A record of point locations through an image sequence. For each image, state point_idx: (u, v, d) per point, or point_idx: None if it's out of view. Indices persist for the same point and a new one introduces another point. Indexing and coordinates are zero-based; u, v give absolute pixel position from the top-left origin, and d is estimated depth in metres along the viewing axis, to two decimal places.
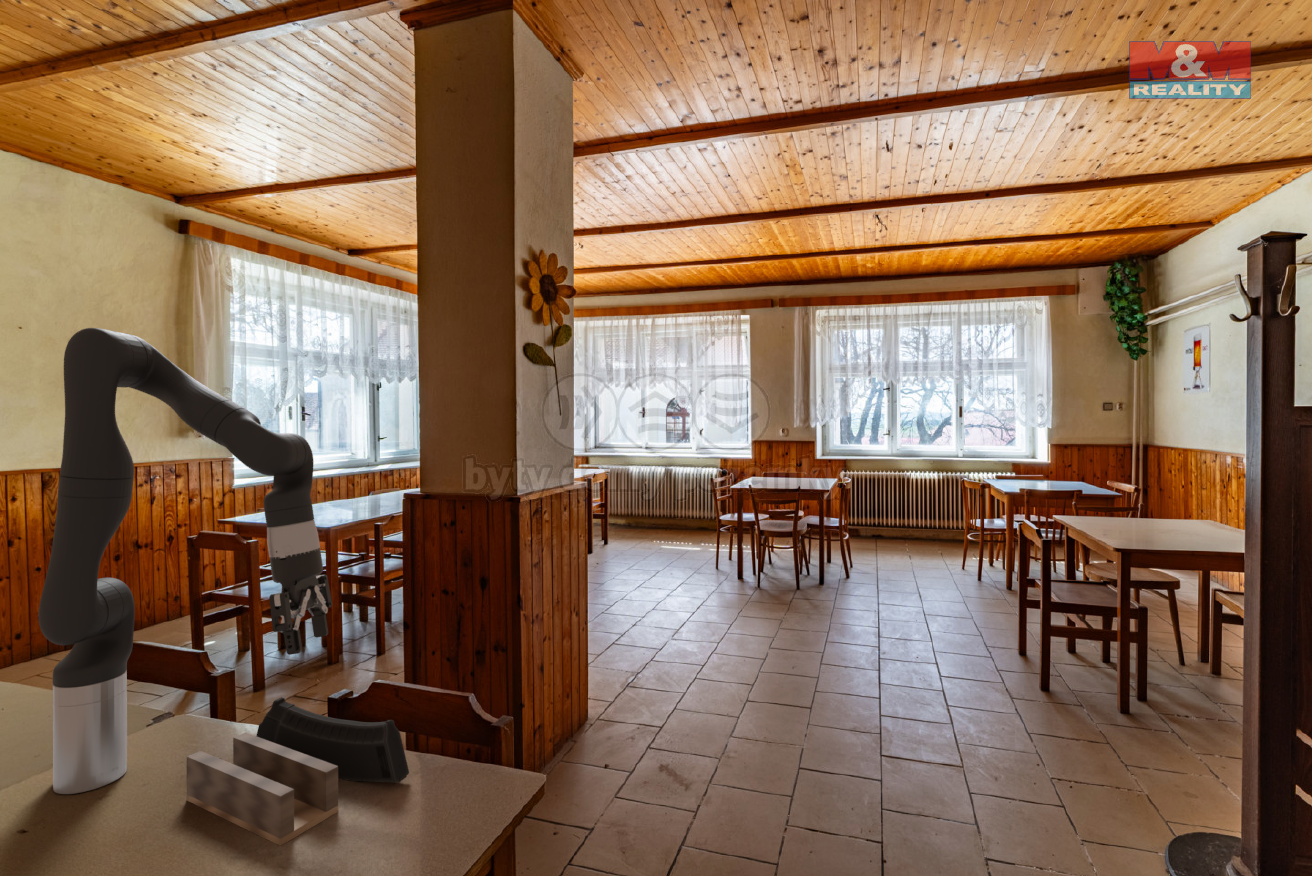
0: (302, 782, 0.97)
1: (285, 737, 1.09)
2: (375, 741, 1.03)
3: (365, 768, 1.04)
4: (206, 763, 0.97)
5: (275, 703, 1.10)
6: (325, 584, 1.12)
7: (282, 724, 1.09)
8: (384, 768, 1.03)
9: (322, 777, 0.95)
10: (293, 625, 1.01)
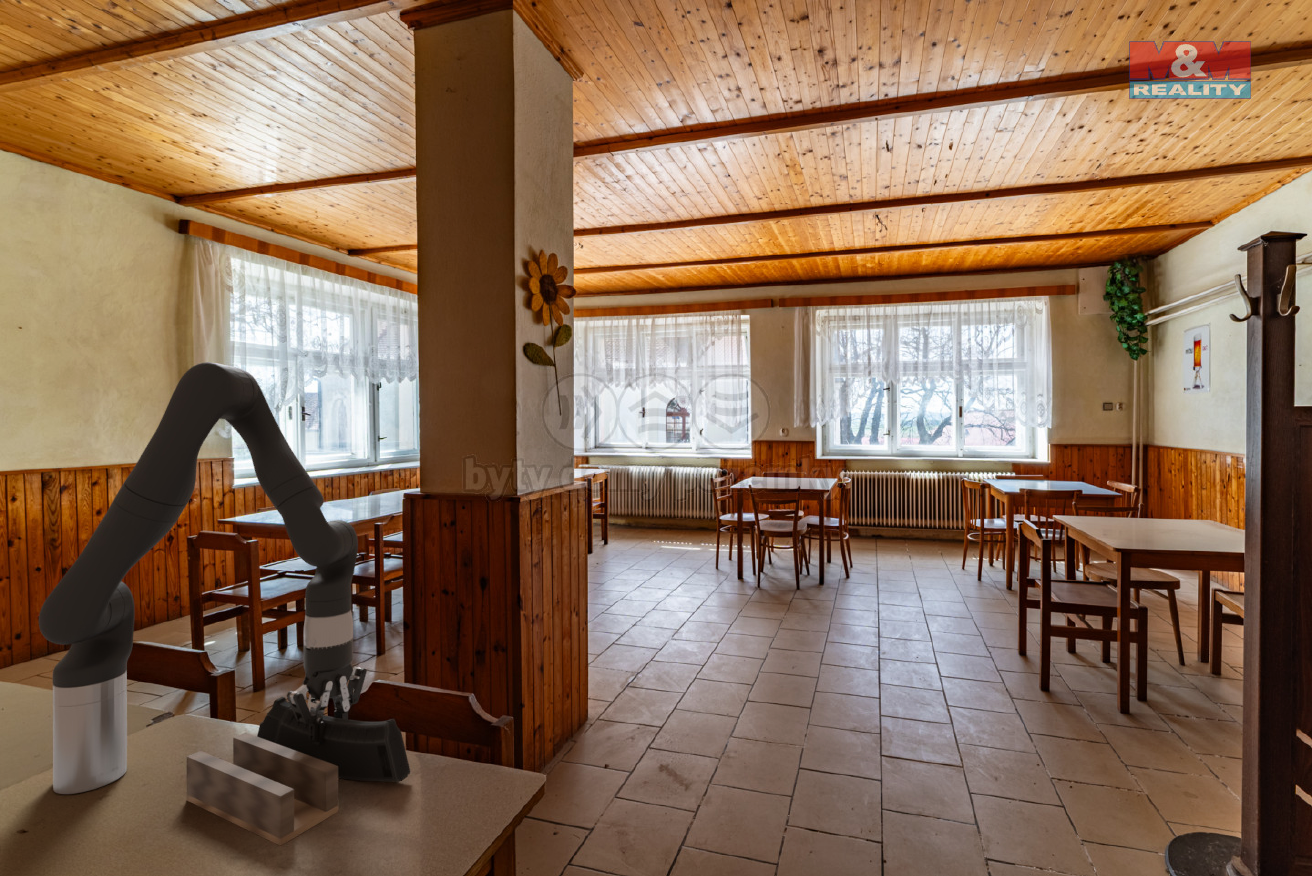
0: (302, 782, 0.97)
1: (286, 736, 1.09)
2: (376, 740, 1.03)
3: (366, 768, 1.04)
4: (206, 763, 0.97)
5: (276, 702, 1.10)
6: (359, 678, 1.12)
7: (283, 724, 1.09)
8: (385, 768, 1.03)
9: (322, 777, 0.95)
10: (315, 718, 1.05)
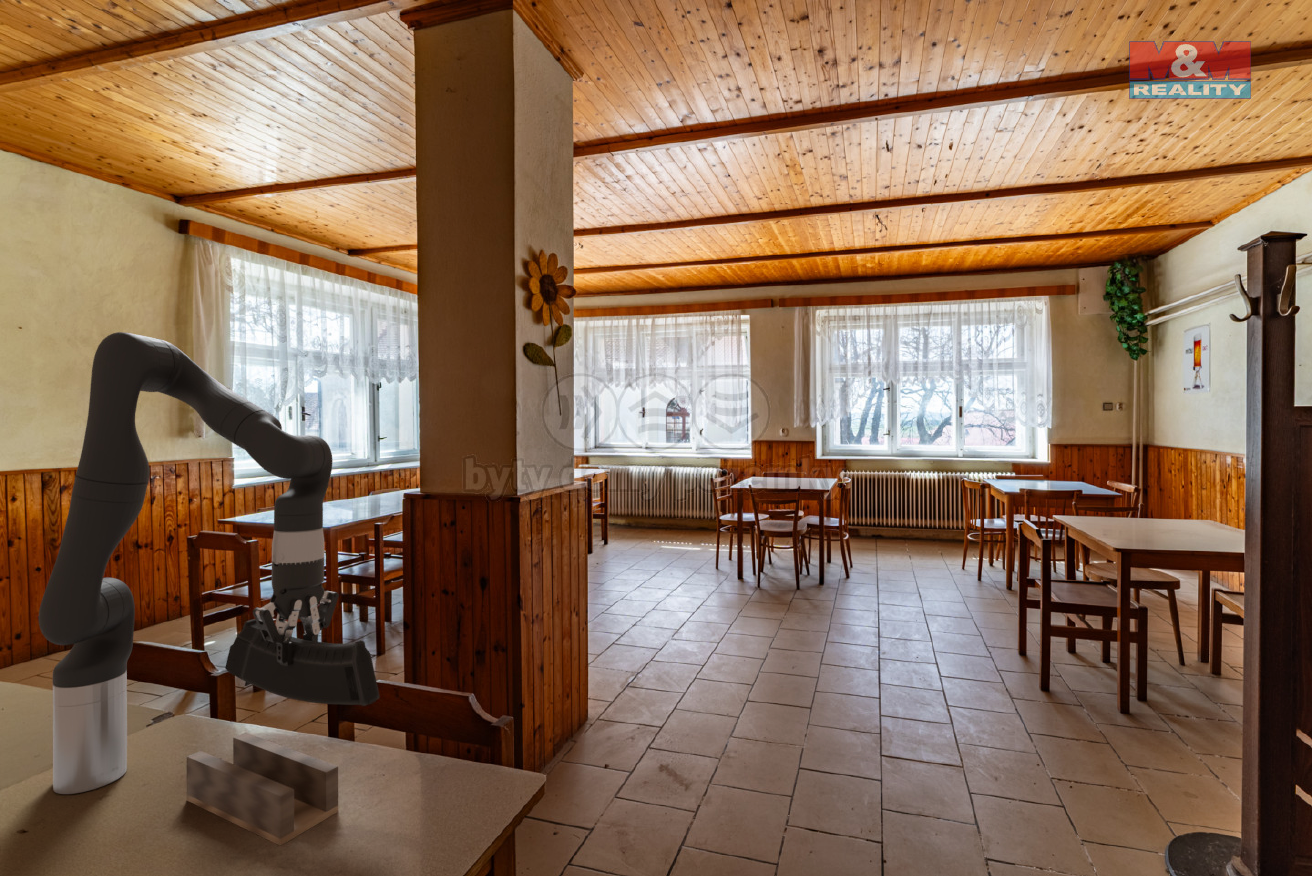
0: (302, 782, 0.97)
1: (255, 659, 1.04)
2: (343, 661, 0.98)
3: (333, 690, 0.99)
4: (206, 763, 0.97)
5: (246, 624, 1.06)
6: (331, 601, 1.07)
7: (252, 645, 1.05)
8: (352, 690, 0.97)
9: (322, 777, 0.95)
10: (283, 638, 1.00)
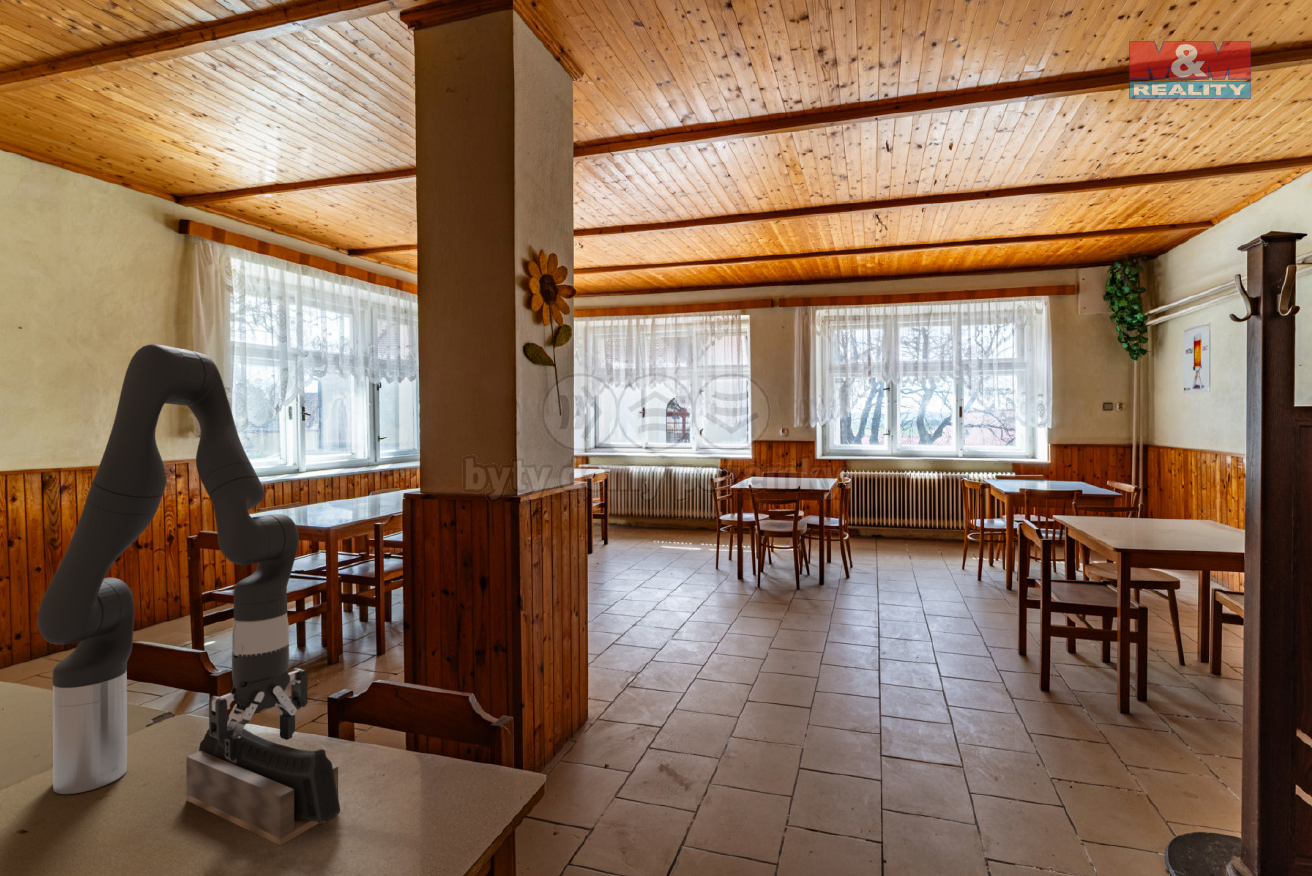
0: None
1: (222, 758, 0.99)
2: (302, 773, 0.91)
3: None
4: (206, 763, 0.97)
5: None
6: (301, 681, 1.02)
7: (220, 744, 1.00)
8: (309, 805, 0.90)
9: None
10: (231, 733, 0.93)
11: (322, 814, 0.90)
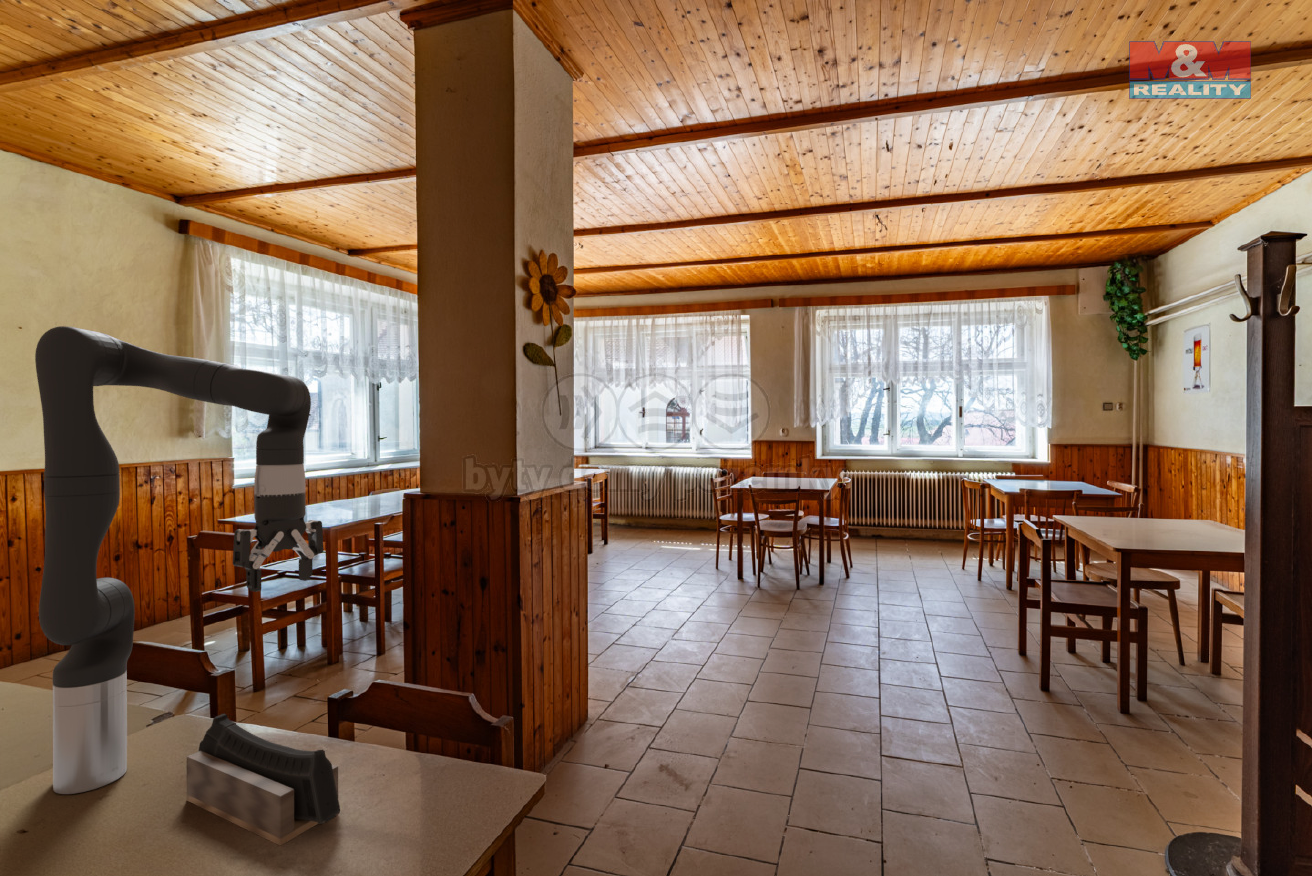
0: None
1: (222, 758, 0.99)
2: (301, 773, 0.91)
3: None
4: (206, 763, 0.97)
5: (215, 720, 1.01)
6: (316, 530, 1.12)
7: (219, 744, 1.00)
8: (309, 805, 0.90)
9: None
10: (252, 563, 1.02)
11: (322, 814, 0.90)
